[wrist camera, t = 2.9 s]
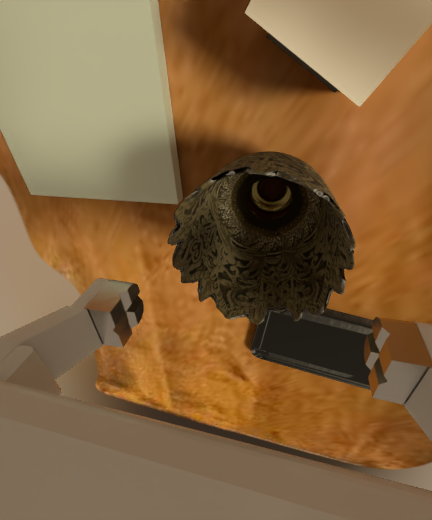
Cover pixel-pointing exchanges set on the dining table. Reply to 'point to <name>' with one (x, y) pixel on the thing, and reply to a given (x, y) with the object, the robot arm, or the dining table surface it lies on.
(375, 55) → the letter cube
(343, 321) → the phone
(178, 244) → the cup
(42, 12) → the sage board
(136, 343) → the dining table surface
